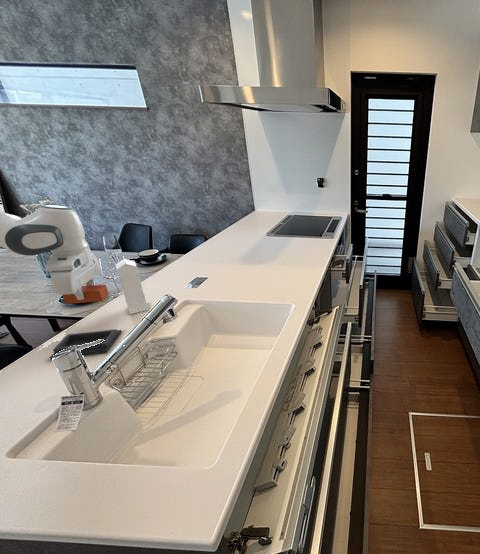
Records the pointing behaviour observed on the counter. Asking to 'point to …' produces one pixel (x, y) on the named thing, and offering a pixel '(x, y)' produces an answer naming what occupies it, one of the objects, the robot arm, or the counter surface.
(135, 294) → the milk
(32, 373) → the counter surface
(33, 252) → the robot arm
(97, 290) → the top pad
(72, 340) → the base pad
